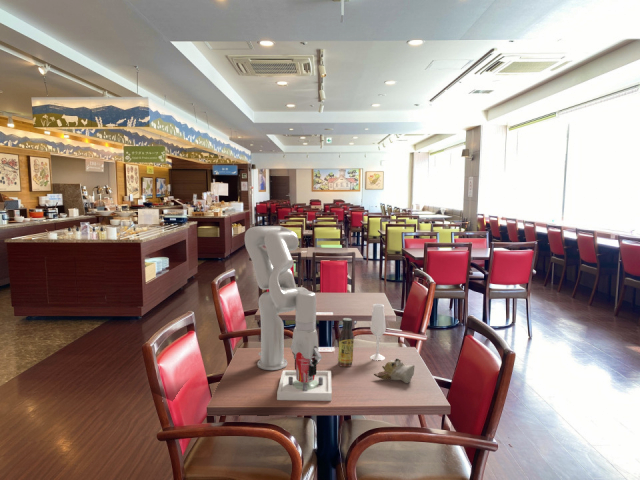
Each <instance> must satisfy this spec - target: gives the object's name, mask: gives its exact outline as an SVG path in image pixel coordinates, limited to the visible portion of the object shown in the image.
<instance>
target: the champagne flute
mask: <svg viewBox="0 0 640 480" xmlns="http://www.w3.org/2000/svg"><path fill="white" fill-rule="evenodd" d="M370 321H371V322H370V331H371V333H372V335H374V337H376V342H375V343H376V349H375V352H376V353H374V354H372V355H371V356H370V357H369V358H370V359H371V360H372V359H373V361H376V360H377V361H378V360H381V361H384V360H385V359H386V357H385V356H384V355H382V354H380V337H382V336H383V335H384V334H385V332H386V330H387V328H386V327H387V326H386V316H385V305H384V304H382V303H374V304H372V312H371V319H370ZM377 361H376V362H377ZM378 362H379V361H378Z"/></svg>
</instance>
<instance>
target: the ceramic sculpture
mask: <svg viewBox="0 0 640 480" xmlns="http://www.w3.org/2000/svg"><path fill="white" fill-rule="evenodd" d="M384 365H385V366H384ZM384 365H382V367H381V368H382V369H383V371H380V372H378V373H373V376H375V377H377V378H379V379H381V380H392V381H402V382H403V383H404V384H408V383H410V382H412V381H411V380H412V378H413V376H414V374H415V368H416V367H415V365H414V364H413V365H412V364H410V365H406V364H405V363H404V362H403V361H402V360H401V359H399V358H395V360H389V361H387V362H386V364H384Z"/></svg>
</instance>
